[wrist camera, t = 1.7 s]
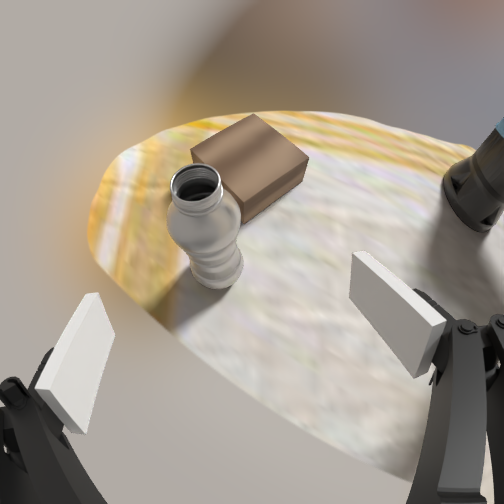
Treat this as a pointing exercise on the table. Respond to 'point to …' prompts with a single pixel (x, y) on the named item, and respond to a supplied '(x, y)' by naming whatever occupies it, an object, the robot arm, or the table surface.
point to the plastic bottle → (205, 225)
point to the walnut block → (253, 163)
